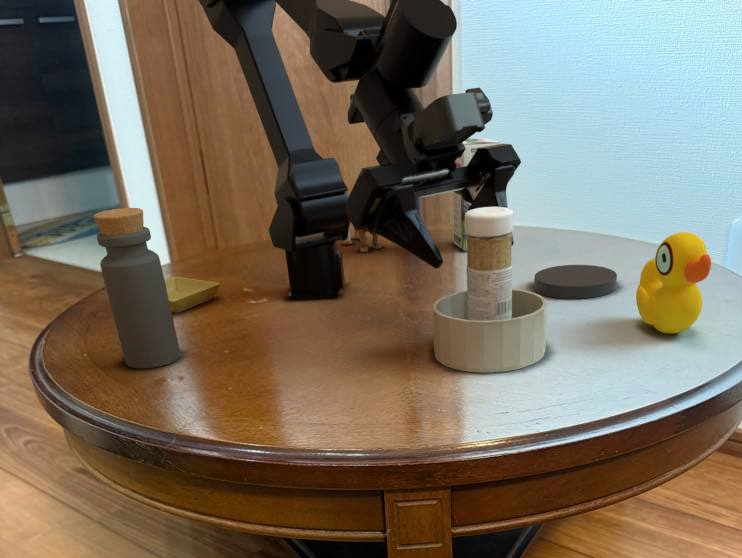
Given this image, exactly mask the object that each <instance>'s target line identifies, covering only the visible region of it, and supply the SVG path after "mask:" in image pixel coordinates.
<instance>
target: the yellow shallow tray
mask: <svg viewBox="0 0 742 558" xmlns="http://www.w3.org/2000/svg"><path fill="white" fill-rule="evenodd" d="M164 280H165V285H166V289H167V294H168V298H169V303H170V307H171V312H172V313H175V314H177V313H180V312H184V311H185V310H188V309H190V308H194V307H195V306H199V305H201V304H205V303H207V302H209V301H210V300H211V299H213V297H214V296H215V294H217V292H218V290H219V289H220V287H221V283H220V282H217V281H209V280H204V279H203V280H201V279H194V278H187V277H180V276H174V277H173V276H172V277H169V278H167V279H164Z"/></svg>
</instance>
